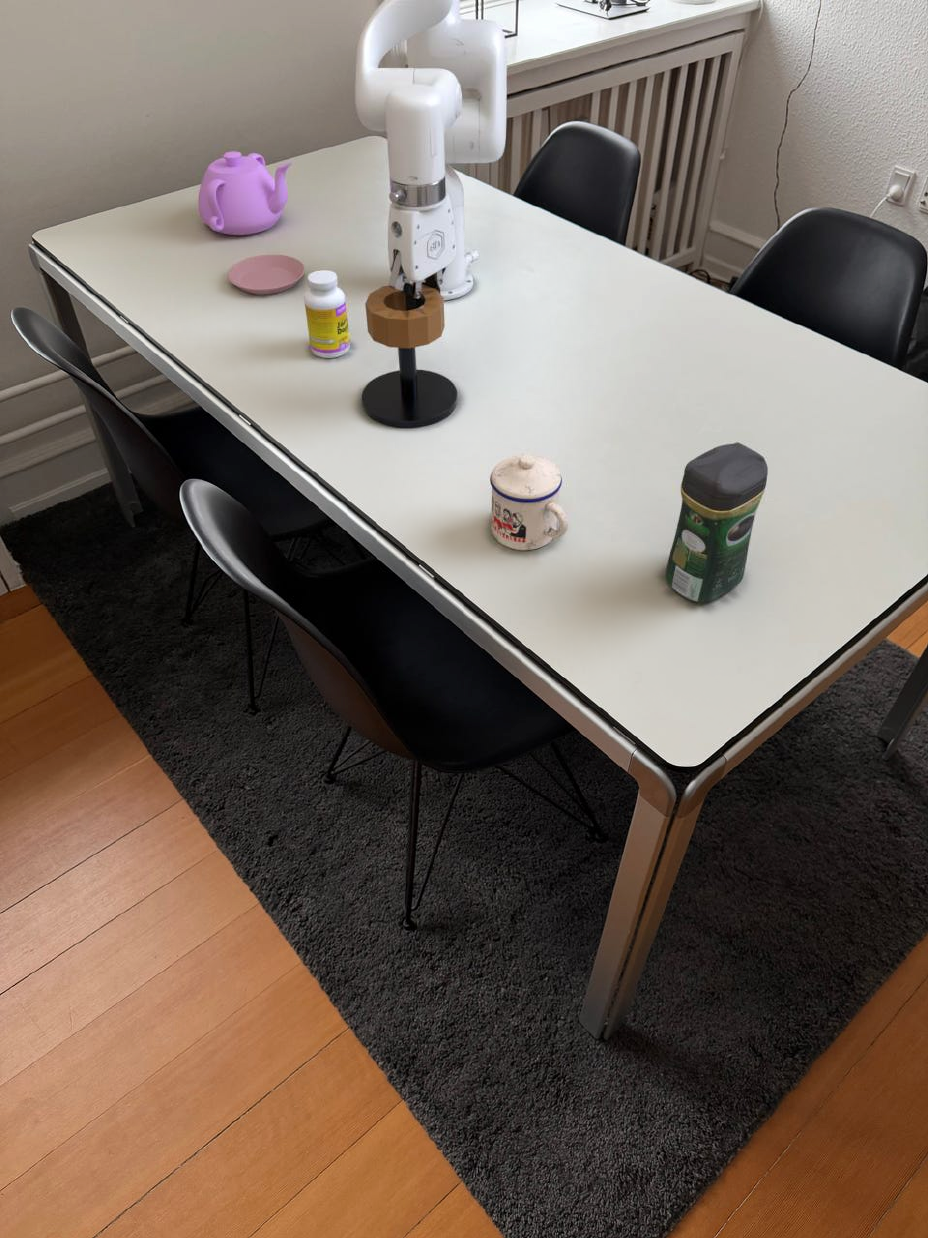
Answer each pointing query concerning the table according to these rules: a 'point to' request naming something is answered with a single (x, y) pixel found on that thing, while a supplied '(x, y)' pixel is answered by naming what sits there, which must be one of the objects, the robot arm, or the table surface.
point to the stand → (409, 395)
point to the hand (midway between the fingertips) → (423, 313)
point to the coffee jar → (715, 521)
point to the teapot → (242, 194)
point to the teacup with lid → (526, 502)
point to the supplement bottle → (326, 315)
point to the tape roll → (404, 318)
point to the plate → (266, 274)
